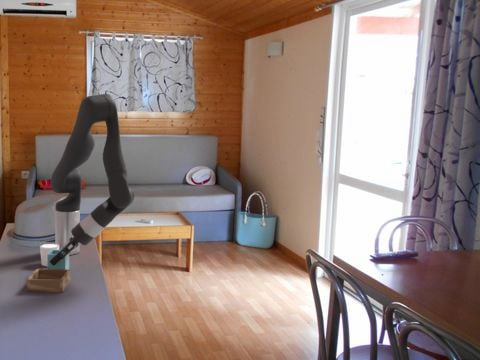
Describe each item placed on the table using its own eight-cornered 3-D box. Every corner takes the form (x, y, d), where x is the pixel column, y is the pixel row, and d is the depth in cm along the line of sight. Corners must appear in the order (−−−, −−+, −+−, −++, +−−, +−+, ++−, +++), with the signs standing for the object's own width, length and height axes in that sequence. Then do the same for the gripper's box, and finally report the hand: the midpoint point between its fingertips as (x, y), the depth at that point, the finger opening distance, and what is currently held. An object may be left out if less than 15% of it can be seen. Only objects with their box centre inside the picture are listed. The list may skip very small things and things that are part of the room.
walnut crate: (37, 280, 195) (37, 268, 195) (70, 280, 196) (70, 269, 195) (27, 291, 184) (27, 279, 183) (62, 292, 185) (62, 280, 184)
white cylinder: (62, 262, 217) (62, 244, 216) (54, 267, 210) (54, 248, 209) (44, 260, 217) (44, 242, 216) (36, 266, 211) (36, 247, 210)
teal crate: (51, 271, 205) (51, 249, 204) (69, 272, 205) (69, 250, 204) (47, 276, 199) (47, 254, 198) (65, 277, 200) (65, 254, 198)
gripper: (84, 216, 207) (51, 247, 208) (76, 225, 193) (41, 258, 194) (99, 231, 208) (66, 261, 209) (92, 241, 194) (57, 273, 195)
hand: (54, 260), depth 201 cm, fingers open, 8 cm apart
